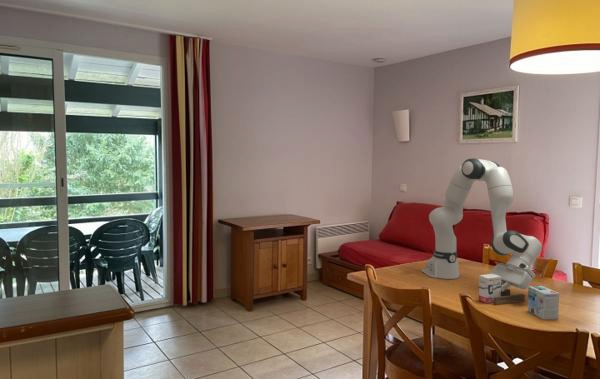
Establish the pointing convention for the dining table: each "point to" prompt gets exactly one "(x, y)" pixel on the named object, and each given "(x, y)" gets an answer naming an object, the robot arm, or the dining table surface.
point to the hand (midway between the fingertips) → (499, 289)
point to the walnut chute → (508, 298)
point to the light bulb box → (543, 302)
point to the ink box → (489, 287)
